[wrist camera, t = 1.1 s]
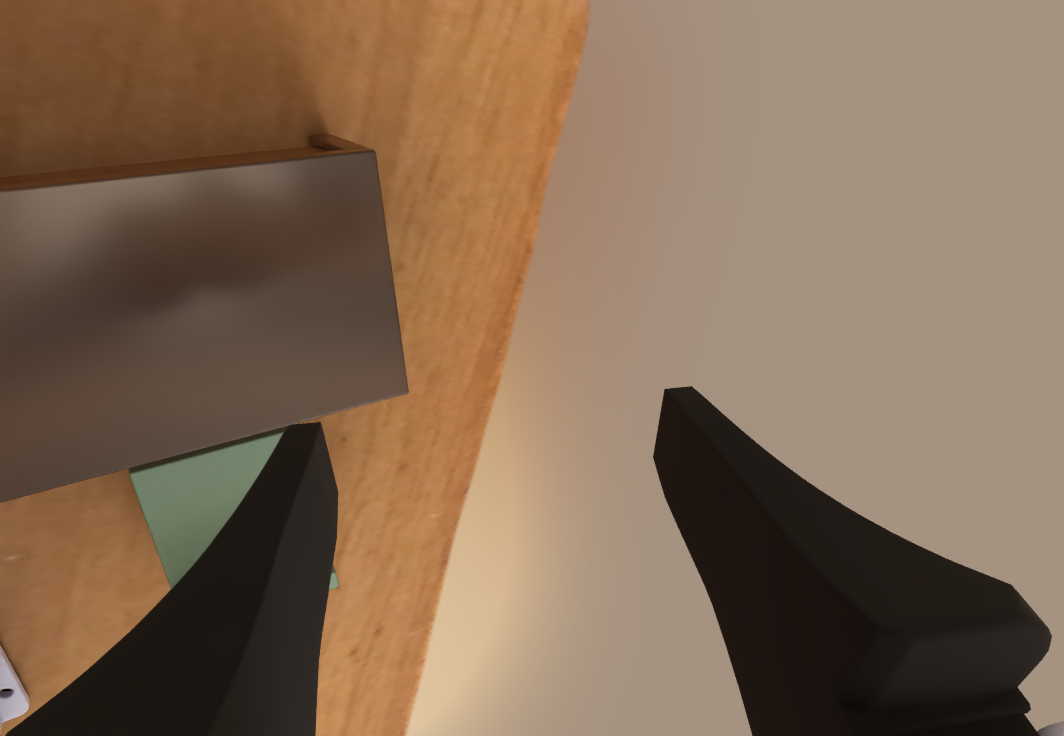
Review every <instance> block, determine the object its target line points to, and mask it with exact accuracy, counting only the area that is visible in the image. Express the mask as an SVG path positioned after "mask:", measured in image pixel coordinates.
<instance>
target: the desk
mask: <svg viewBox="0 0 1064 736" xmlns="http://www.w3.org/2000/svg"><path fill="white" fill-rule="evenodd" d="M310 139H311V144H312V146H311V147H301V148H291V149H281V150H271V151H261V152H251V153H241V154H231V155H221V156H211V157H201V158H191V159H181V160H171V161H161V162H151V163H141V164H131V165H121V166H111V167H101V168H91V169H81V170H71V171H61V172H51V173H41V174H31V175H21V176H11V177H1V178H0V503H1V502H5V501H9V500H12V499H16V498H20V497H24V496H27V495H31V494H35V493H38V492H42V491H46V490H50V489H53V488H57V487H61V486H65V485H68V484H72V483H76V482H80V481H83V480H87V479H91V478H94V477H98V476H102V475H106V474H109V473H113V472H117V471H121V470H124V469H128V468H132V467H136V466H139V465H143V464H147V463H150V462H154V461H158V460H162V459H165V458H169V457H173V456H177V455H180V454H184V453H188V452H192V451H195V450H199V449H203V448H207V447H210V446H214V445H218V444H221V443H225V442H229V441H233V440H236V439H240V438H244V437H248V436H251V435H255V434H259V433H263V432H266V431H270V430H274V429H277V428H281V427H285V426H289V425H292V424H296V423H300V422H304V421H307V420H311V419H315V418H319V417H322V416H326V415H330V414H333V413H337V412H341V411H345V410H348V409H352V408H356V407H360V406H363V405H367V404H371V403H375V402H378V401H382V400H386V399H389V398H393V397H397V396H401V395H404V394H408V392H409V390H408V383H407V376H406V368H405V361H404V354H403V347H402V339H401V332H400V325H399V318H398V310H397V303H396V296H395V289H394V282H393V274H392V267H391V260H390V253H389V245H388V238H387V231H386V224H385V216H384V209H383V202H382V195H381V187H380V180H379V173H378V166H377V158H376V152H375V150H372V149H369V148H366V147H364V146H361V145H358V144H355V143H353V142H350V141H347V140H344V139H341V138H339V137H336V136H333V135H330V134H322V135H312V136H311V137H310Z"/></svg>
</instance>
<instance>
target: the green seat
mask: <svg viewBox="0 0 1064 736" xmlns="http://www.w3.org/2000/svg"><path fill="white" fill-rule="evenodd" d="M292 425H296V424H292ZM287 427H288V426H285V427H281V428H277V429H274V430H270V431H266V432H263V433H259V434H255V435H251V436H248V437H244V438H240V439H236V440H233V441H229V442H225V443H221V444H218V445H214V446H210V447H207V448H203V449H199V450H195V451H192V452H188V453H184V454H180V455H177V456H173V457H169V458H165V459H162V460H158V461H154V462H150V463H147V464H143V465H139V466H136V467H132V468H129V476H130V479H131V482H132V484H133V487H134V490H135V492H136V495H137V498H138V501H139V503H140V506H141V509H142V511H143V514H144V517H145V520H146V522H147V525H148V528H149V530H150V533H151V536H152V539H153V541H154V544H155V547H156V549H157V552H158V555H159V557H160V560H161V563H162V566H163V568H164V571H165V574H166V576H167V579H168V582H169V585H170V587H171V589H172V588H173V587H174V586H175V585H176V584H177V583H178V581H179V580H180V579H181V578H182V577H183V576H184V575H185V574H186V572H187V571H188V570H189V569H190V568H191V567H192V565H193V564H194V563H195V562H196V561H197V560H198V558H199V557H200V556H201V555H202V553H203V552H204V551H205V550H206V548H207V547H208V546H209V545H210V543H211V542H212V541H213V539H214V538H215V537H216V535H217V534H218V533H219V531H220V530H221V529H222V527H223V526H224V525H225V523H226V522H227V521H228V519H229V518H230V517H231V515H232V514H233V513H234V511H235V510H236V508H237V507H238V505H239V504H240V502H241V501H242V499H243V498H244V496H245V495H246V493H247V492H248V490H249V489H250V487H251V486H252V484H253V483H254V481H255V480H256V478H257V477H258V475H259V473H260V472H261V470H262V469H263V467H264V465H265V464H266V462H267V460H268V459H269V457H270V455H271V454H272V452H273V450H274V449H275V447H276V445H277V443H278V442H279V440H280V438H281V436H282V434H283V433H284V431H285V429H286V428H287ZM338 586H339V583H338V578H337V574H336V571H335V568H334V566H332V573H331V580H330V586H329V590H331V589H333V588H336V587H338Z"/></svg>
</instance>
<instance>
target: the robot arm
mask: <svg viewBox="0 0 1064 736" xmlns="http://www.w3.org/2000/svg"><path fill="white" fill-rule="evenodd" d="M653 458H654V462H655V465H656V469H657V472H658V475H659V479H660V482H661V485H662V489H663V492H664V495H665V498H666V501H667V503H668V505H669V508H670V510H671V512H672V514H673V517H674V519H675V521H676V523H677V526H678V528H679V530H680V532H681V535H682V537H683V539H684V541H685V543H686V546H687V548H688V550H689V552H690V554H691V557H692V559H693V561H694V563H695V565H696V568H697V569H698V572H699V574H700V576H701V579H702V581H703V583H704V585H705V588H706V590H707V593H708V595H709V598H710V600H711V602H712V605H713V608H714V611H715V614H716V617H717V620H718V623H719V626H720V629H721V632H722V635H723V638H724V641H725V644H726V647H727V651H728V654H729V657H730V660H731V663H732V667H733V670H734V673H735V677H736V680H737V683H738V686H739V689H740V693H741V696H742V700H743V704H744V707H745V711H746V714H747V718H748V721H749V725H750V728H751V732H752V735H753V736H1064V721H1063V722H1058V723H1055V724H1051V725H1049V726H1046V727H1044V728H1042V729H1040V730H1038V731H1036V730H1035V729H1034V727H1033V726H1032V724H1031V723H1030V722H1029V720H1028V719H1027V718H1026V716H1025V715H1024V714H1025V713H1028V712H1029V711H1030V710H1031V708H1030V704H1029V702H1028V701H1027V699H1026V698H1025V697H1024V695H1023V694H1022V693H1021V691H1020V690H1019V689H1018V686H1019V685H1020V683H1021V682H1022V681H1023V680H1024V679H1025V678H1026V677H1027V676H1028V674H1030V672H1031V671H1032V670H1033V669H1034V668H1035V667H1036V666H1037V665H1038V663H1039V662H1040V661H1041V660H1042V659H1043V657H1044V656H1045V655H1046V653H1047V652H1048V650H1049V646H1050V643H1051V637H1052V635H1051V633H1050V631H1049V629H1048V627H1047V626H1046V625H1045V624H1044V622H1043V621H1042V620H1041V619H1040V618H1039V617H1038V615H1037V614H1036V613H1035V612H1034V611H1033V609H1032V608H1031V607H1030V606H1029V605H1028V604H1027V602H1026V601H1025V600H1024V599H1023V598H1022V596H1021V595H1020V594H1019V593H1018V592H1017V591H1016V590H1015V589H1014V588H1013V586H1012V585H1010V584H1008V583H1005V582H1003V581H1000V580H998V579H995V578H993V577H990V576H988V575H985V574H983V573H980V572H978V571H975V570H973V569H970V568H968V567H965V566H963V565H960V564H958V563H955V562H953V561H951V560H948V559H946V558H944V557H942V556H939V555H937V554H935V553H933V552H931V551H929V550H927V549H924V548H922V547H920V546H918V545H916V544H914V543H912V542H910V541H908V540H906V539H904V538H901V537H900V536H898V535H896V534H894V533H892V532H890V531H888V530H886V529H885V528H883V527H881V526H879V525H877V524H875V523H874V522H872V521H870V520H868V519H866V518H864V517H863V516H861V515H859V514H857V513H856V512H854V511H852V510H851V509H849V508H847V507H846V506H844V505H842V504H841V503H839V502H838V501H836V500H834V499H833V498H831V497H830V496H828V495H827V494H825V493H824V492H822V491H821V490H819V489H817V488H816V487H815V486H813V485H812V484H810V483H809V482H807V481H806V480H804V479H803V478H801V477H800V476H798V475H797V474H796V473H795V472H793V471H792V470H791V469H789V468H788V467H787V466H785V465H784V464H783V463H781V462H780V461H779V460H777V459H776V458H775V457H774V456H772V455H771V454H770V453H769V452H767V451H766V450H765V449H763V448H762V447H761V446H760V445H759V444H757V443H756V442H755V441H754V440H753V439H751V438H750V437H749V436H748V435H746V434H745V433H744V432H743V431H742V430H741V429H740V428H738V427H737V426H736V425H735V424H734V423H733V422H732V421H730V420H729V419H728V418H727V417H726V416H725V415H724V414H722V413H721V412H720V411H719V410H718V409H717V408H716V407H714V405H712V404H711V403H710V402H709V401H708V400H707V399H706V398H704V397H703V396H702V395H701V394H700V393H699V392H698V391H697V390H695V389H694V388H693V387H692V386H691V387H681V388H670V389H665V390H664V396H663V401H662V407H661V413H660V419H659V425H658V432H657V437H656V444H655V449H654V455H653ZM337 517H338V489H337V485H336V481H335V477H334V473H333V469H332V465H331V461H330V457H329V453H328V449H327V445H326V441H325V437H324V433H323V429H322V425H321V422H317V423H306V424H296V425H289V426H288V427H287V428H286V429H285V431H284V433H283V434H282V436H281V438H280V440H279V442H278V443H277V445H276V447H275V449H274V450H273V452H272V454H271V455H270V457H269V459H268V460H267V462H266V464H265V465H264V467H263V469H262V470H261V472H260V473H259V475H258V477H257V478H256V480H255V481H254V483H253V484H252V486H251V487H250V489H249V490H248V492H247V493H246V495H245V496H244V498H243V499H242V501H241V502H240V504H239V505H238V507H237V508H236V510H235V511H234V513H233V514H232V515H231V517H230V518H229V519H228V521H227V522H226V523H225V525H224V526H223V527H222V529H221V530H220V531H219V533H218V534H217V535H216V537H215V538H214V539H213V541H212V542H211V543H210V545H209V546H208V547H207V548H206V550H205V551H204V552H203V553H202V555H201V556H200V557H199V558H198V560H197V561H196V562H195V563H194V564H193V565H192V567H191V568H190V569H189V570H188V571H187V572H186V574H185V575H184V576H183V577H182V578H181V579H180V580H179V581H178V583H177V584H176V585H175V586H174V587H173V588H172V589H171V590H170V591H169V592H168V593H167V594H166V596H165V597H164V598H163V599H162V600H161V601H160V602H159V603H158V604H157V605H156V606H155V607H154V608H153V609H152V610H151V611H150V612H149V613H148V614H147V615H146V616H145V617H144V618H143V619H142V620H141V621H140V622H139V623H138V624H137V625H136V626H135V627H134V628H133V629H132V630H131V631H130V632H129V633H128V634H127V635H126V636H125V637H124V638H122V639H121V640H120V641H119V642H118V643H117V644H116V645H115V646H114V647H112V648H111V649H110V650H109V651H108V652H107V653H106V654H105V655H104V656H102V657H101V658H100V659H99V660H98V661H97V662H96V663H95V664H94V665H92V666H91V667H90V668H89V669H88V670H87V671H86V672H84V673H83V674H82V675H81V676H80V677H78V678H77V679H76V680H75V681H74V682H72V683H71V684H70V685H69V686H67V687H66V688H65V689H64V690H62V691H61V692H60V693H59V694H57V695H56V696H55V697H53V698H52V699H51V700H50V701H48V702H47V703H46V704H44V705H43V706H42V707H41V708H39V709H38V710H37V711H35V712H34V713H33V714H32V715H30V716H29V717H28V718H26V719H25V720H24V721H23V722H21V723H20V724H19V725H17V726H16V727H15V728H13V729H12V730H10V731H9V732H8V733H7V734H6V736H315V732H316V707H317V688H318V669H319V655H320V646H321V638H322V631H323V625H324V618H325V612H326V605H327V599H328V592H329V586H330V580H331V573H332V566H333V560H334V553H335V546H336V539H337ZM6 688H8V689H12V690H10V691H6V692H5V691H1V690H2V689H6ZM29 704H30V699H29V697H28V695H27V693H26V691H25V689H24V687H23V686H22V684H21V682H20V680H19V678H18V676H17V675H16V673H15V671H14V669H13V667H12V665H11V663H10V662H9V660H8V658H7V656H6V654H5V652H4V651H3V649H2V647H1V645H0V731H1V726H2V723H3V722H5V721H8V720H10V719H13V718H16V717H18V716H20V715H22V714H24V713H25V712H26V711H27V710H28V708H29Z"/></svg>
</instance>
